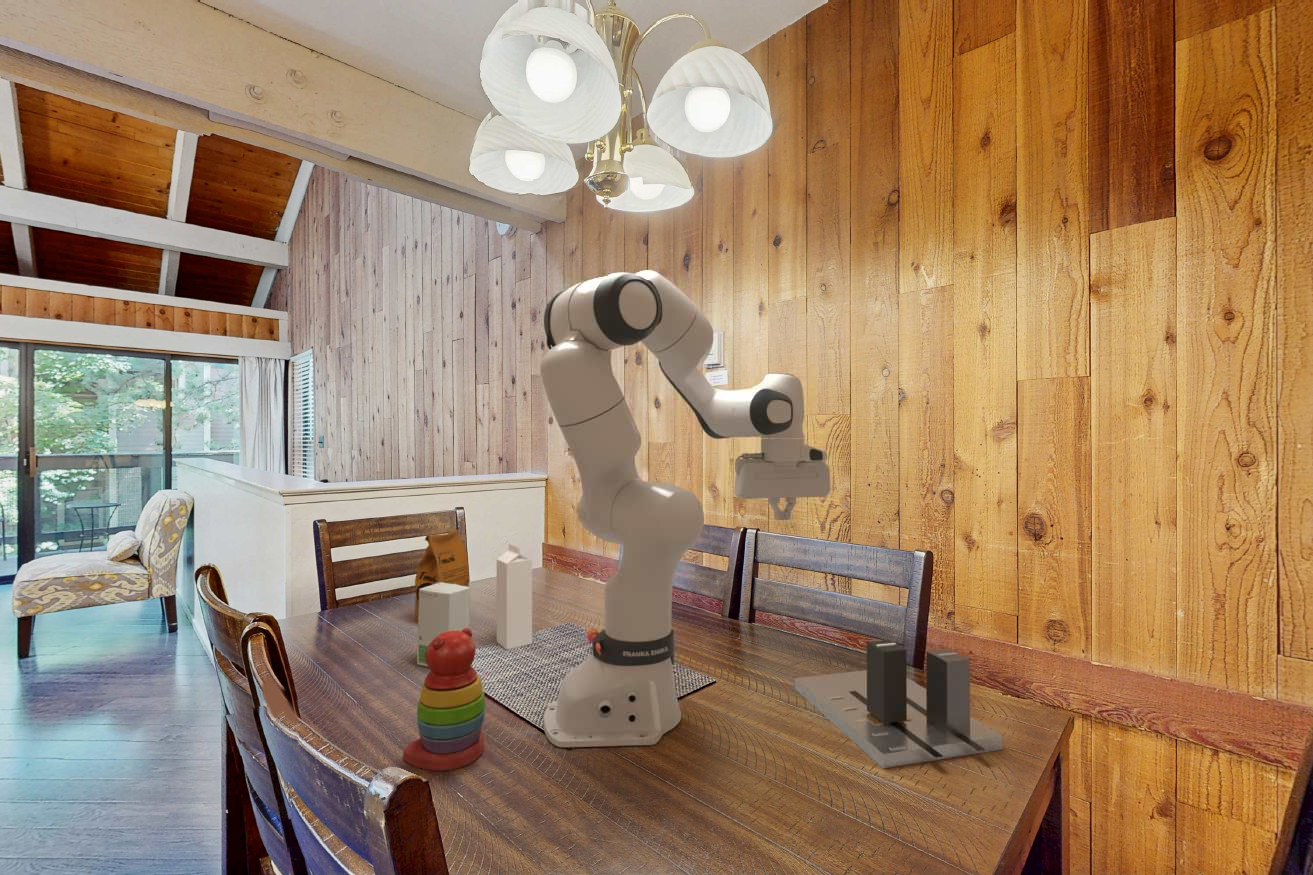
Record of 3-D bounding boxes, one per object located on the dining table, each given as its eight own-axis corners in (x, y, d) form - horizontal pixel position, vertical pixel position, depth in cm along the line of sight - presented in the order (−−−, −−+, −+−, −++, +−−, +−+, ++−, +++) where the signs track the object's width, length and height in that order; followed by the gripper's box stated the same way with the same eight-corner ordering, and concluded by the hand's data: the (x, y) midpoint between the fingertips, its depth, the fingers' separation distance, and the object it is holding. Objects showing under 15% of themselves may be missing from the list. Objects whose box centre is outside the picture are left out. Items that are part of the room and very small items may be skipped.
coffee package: (408, 622, 144) (408, 534, 144) (445, 609, 155) (445, 527, 155) (438, 628, 140) (437, 537, 140) (474, 613, 151) (474, 530, 151)
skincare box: (416, 665, 117) (416, 588, 117) (439, 654, 123) (439, 581, 123) (448, 671, 113) (448, 592, 113) (471, 659, 120) (471, 584, 120)
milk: (506, 650, 125) (506, 549, 125) (496, 642, 130) (495, 544, 130) (532, 643, 129) (532, 545, 129) (521, 636, 134) (520, 541, 133)
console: (894, 778, 78) (894, 681, 78) (795, 689, 105) (794, 617, 105) (1016, 758, 82) (1016, 666, 82) (890, 677, 110) (890, 608, 110)
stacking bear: (464, 727, 92) (463, 615, 92) (502, 748, 85) (502, 629, 85) (397, 756, 83) (397, 633, 83) (434, 782, 77) (434, 650, 77)
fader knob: (883, 723, 88) (883, 650, 88) (866, 710, 92) (866, 640, 92) (906, 720, 89) (906, 648, 89) (888, 707, 93) (888, 638, 93)
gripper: (741, 453, 113) (741, 523, 113) (834, 452, 118) (834, 519, 118) (729, 452, 119) (729, 519, 119) (818, 452, 124) (818, 515, 124)
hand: (782, 519), depth 119 cm, fingers closed
